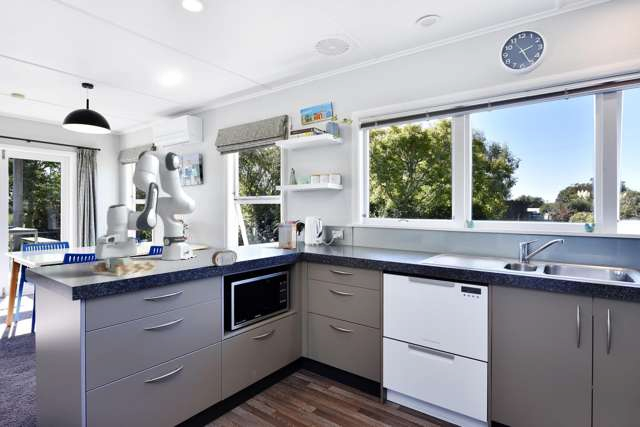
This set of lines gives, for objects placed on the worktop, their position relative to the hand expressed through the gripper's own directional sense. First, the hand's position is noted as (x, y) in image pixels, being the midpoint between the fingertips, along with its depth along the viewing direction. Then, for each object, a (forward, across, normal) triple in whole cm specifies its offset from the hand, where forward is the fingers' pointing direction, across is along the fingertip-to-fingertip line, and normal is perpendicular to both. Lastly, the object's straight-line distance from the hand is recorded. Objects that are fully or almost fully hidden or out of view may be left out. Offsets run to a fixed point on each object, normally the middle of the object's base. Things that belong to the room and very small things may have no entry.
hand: (117, 266), depth 165 cm
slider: (+2, 0, 0) cm, 2 cm away
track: (+3, -5, 0) cm, 6 cm away
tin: (+3, -39, +34) cm, 52 cm away
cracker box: (+4, -133, +29) cm, 136 cm away
